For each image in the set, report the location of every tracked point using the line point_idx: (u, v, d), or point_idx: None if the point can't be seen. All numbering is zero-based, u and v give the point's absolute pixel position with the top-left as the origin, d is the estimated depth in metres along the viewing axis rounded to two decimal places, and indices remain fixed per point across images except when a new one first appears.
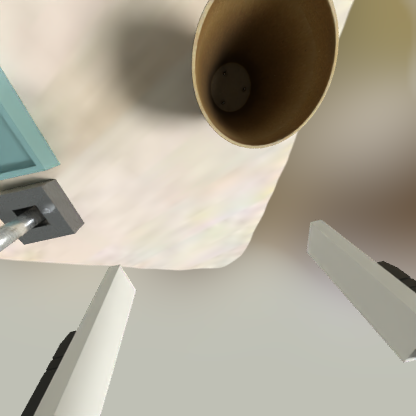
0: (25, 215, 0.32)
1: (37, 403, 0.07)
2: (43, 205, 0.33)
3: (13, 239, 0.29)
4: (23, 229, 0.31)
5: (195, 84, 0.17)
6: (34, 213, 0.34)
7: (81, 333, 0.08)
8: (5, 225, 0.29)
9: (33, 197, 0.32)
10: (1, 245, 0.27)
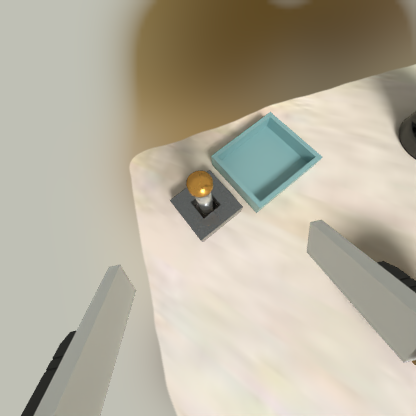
0: None
1: (37, 402, 0.07)
2: (223, 210, 0.36)
3: (203, 201, 0.30)
4: (207, 204, 0.32)
5: None
6: (212, 205, 0.36)
7: (81, 333, 0.08)
8: None
9: (228, 202, 0.36)
10: (204, 197, 0.28)
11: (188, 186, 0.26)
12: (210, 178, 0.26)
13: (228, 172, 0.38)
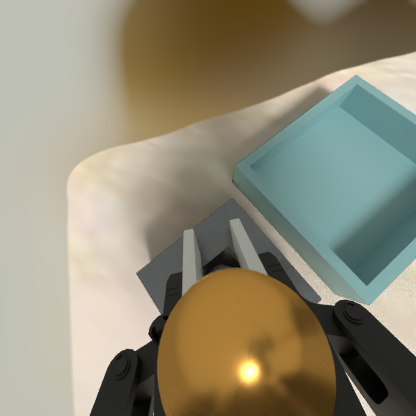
0: None
1: None
2: None
3: None
4: None
5: None
6: None
7: (188, 270, 0.10)
8: None
9: None
10: None
11: (169, 388, 0.04)
12: (312, 331, 0.04)
13: (277, 205, 0.16)
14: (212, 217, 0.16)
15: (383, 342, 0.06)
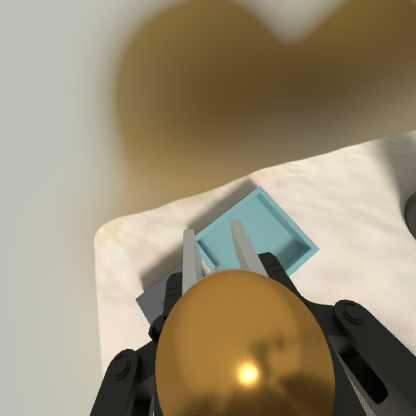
0: None
1: None
2: None
3: None
4: None
5: None
6: None
7: (188, 270, 0.10)
8: None
9: None
10: None
11: (168, 389, 0.04)
12: (311, 332, 0.04)
13: (208, 264, 0.32)
14: (175, 270, 0.32)
15: (383, 342, 0.06)
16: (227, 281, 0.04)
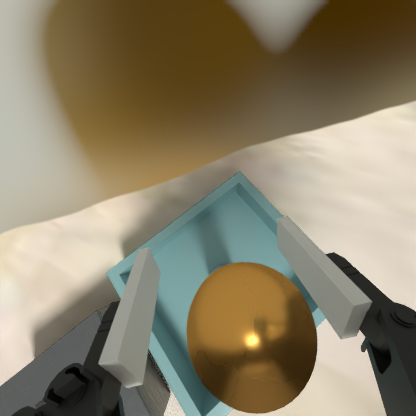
0: None
1: (95, 355, 0.08)
2: None
3: None
4: None
5: None
6: None
7: (125, 301, 0.09)
8: None
9: (125, 414, 0.15)
10: None
11: (196, 349, 0.05)
12: (300, 306, 0.06)
13: None
14: (72, 333, 0.16)
15: None
16: (238, 270, 0.06)
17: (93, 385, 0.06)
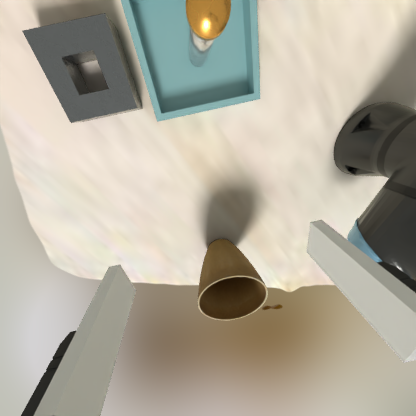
0: None
1: (37, 402, 0.07)
2: (110, 98, 0.27)
3: (198, 44, 0.20)
4: (201, 51, 0.22)
5: (229, 277, 0.33)
6: (207, 56, 0.25)
7: (81, 333, 0.08)
8: None
9: (120, 91, 0.27)
10: (204, 39, 0.18)
11: None
12: (228, 9, 0.15)
13: (135, 40, 0.24)
14: (86, 20, 0.23)
15: None
16: None
17: None
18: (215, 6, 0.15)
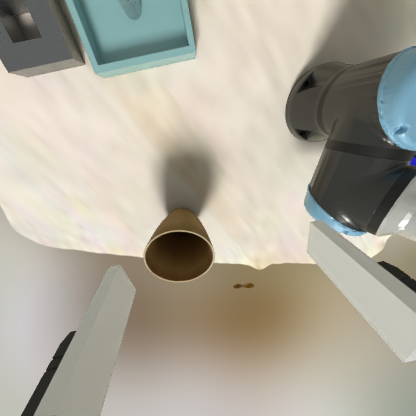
0: None
1: (38, 403, 0.07)
2: (44, 47, 0.28)
3: None
4: None
5: (170, 231, 0.33)
6: (133, 2, 0.26)
7: (81, 333, 0.08)
8: None
9: (54, 40, 0.28)
10: None
11: None
12: None
13: None
14: None
15: None
16: None
17: None
18: None
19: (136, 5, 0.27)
